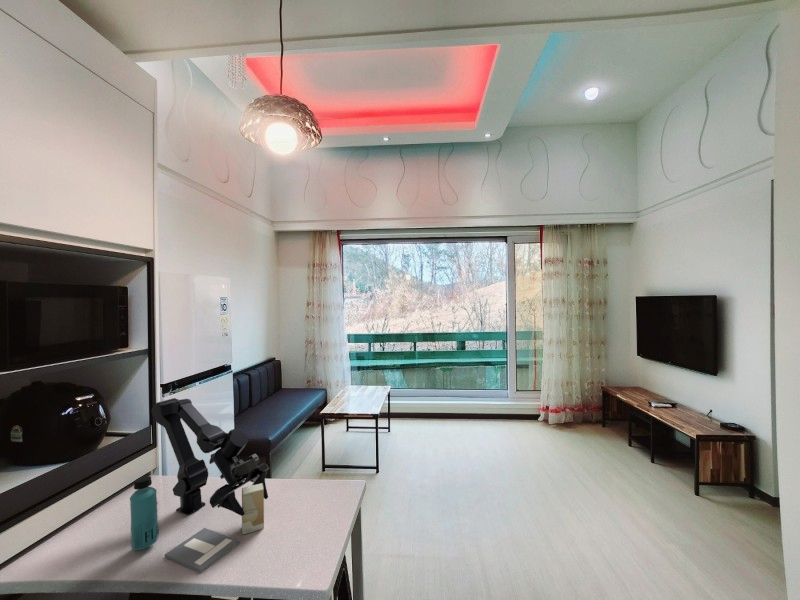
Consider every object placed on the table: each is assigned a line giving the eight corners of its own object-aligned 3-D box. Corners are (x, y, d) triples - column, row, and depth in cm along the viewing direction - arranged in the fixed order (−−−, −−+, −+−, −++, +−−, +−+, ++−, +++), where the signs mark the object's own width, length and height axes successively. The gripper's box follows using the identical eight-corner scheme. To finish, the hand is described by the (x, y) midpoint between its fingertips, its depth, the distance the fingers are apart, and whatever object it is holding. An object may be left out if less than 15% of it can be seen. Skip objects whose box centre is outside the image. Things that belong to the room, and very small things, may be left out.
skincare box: (242, 535, 103) (241, 494, 103) (241, 527, 107) (240, 487, 107) (265, 528, 106) (264, 488, 106) (263, 520, 110) (262, 482, 110)
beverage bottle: (144, 557, 96) (141, 485, 96) (124, 554, 97) (122, 483, 97) (164, 541, 102) (162, 473, 102) (146, 538, 103) (143, 472, 103)
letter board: (164, 557, 95) (164, 554, 95) (204, 530, 106) (204, 527, 106) (201, 572, 89) (201, 569, 89) (239, 542, 100) (239, 539, 100)
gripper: (214, 463, 100) (243, 508, 95) (263, 438, 117) (290, 476, 112) (197, 485, 103) (224, 530, 98) (247, 458, 120) (273, 496, 116)
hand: (255, 506), depth 106 cm, fingers open, 9 cm apart
